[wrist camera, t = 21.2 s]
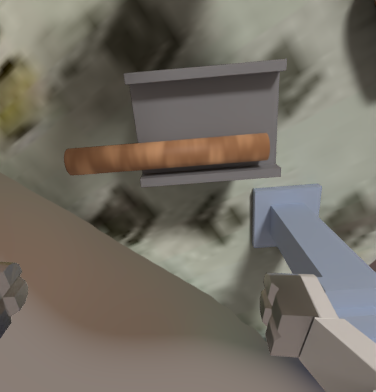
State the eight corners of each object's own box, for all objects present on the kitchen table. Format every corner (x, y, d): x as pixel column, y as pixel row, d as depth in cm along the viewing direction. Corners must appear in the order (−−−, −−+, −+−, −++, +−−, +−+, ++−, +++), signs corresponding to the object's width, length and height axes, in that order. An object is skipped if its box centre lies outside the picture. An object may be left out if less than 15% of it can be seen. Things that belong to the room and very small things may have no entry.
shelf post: (252, 243, 54) (309, 378, 29) (253, 188, 49) (321, 290, 24) (312, 239, 53) (422, 371, 28) (318, 183, 49) (455, 281, 24)
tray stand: (157, 153, 47) (141, 187, 31) (147, 79, 42) (123, 73, 26) (247, 146, 46) (280, 176, 30) (248, 70, 42) (286, 58, 26)
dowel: (72, 145, 31) (79, 169, 32) (61, 153, 28) (69, 179, 29) (263, 130, 30) (261, 155, 31) (270, 136, 27) (269, 164, 29)
